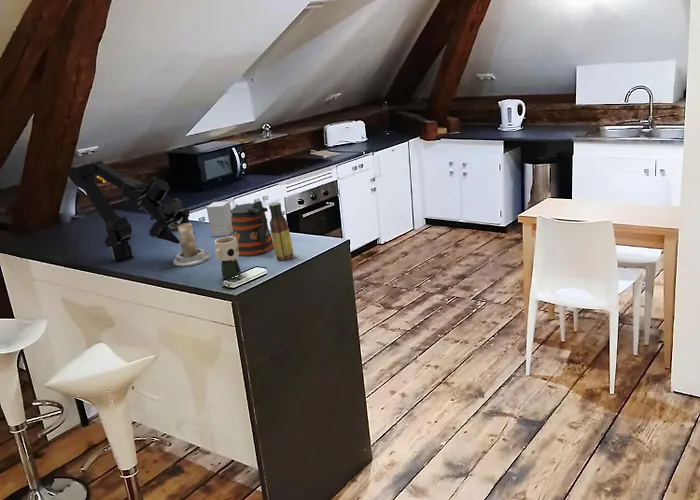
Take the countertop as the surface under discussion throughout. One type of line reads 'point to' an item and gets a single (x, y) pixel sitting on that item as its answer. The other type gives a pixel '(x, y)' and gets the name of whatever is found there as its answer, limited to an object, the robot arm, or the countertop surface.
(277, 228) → the sauce bottle
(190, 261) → the socket ring
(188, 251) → the knob post
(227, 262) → the character mug
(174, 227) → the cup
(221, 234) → the supplement box
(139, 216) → the countertop surface
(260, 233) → the beer stein
